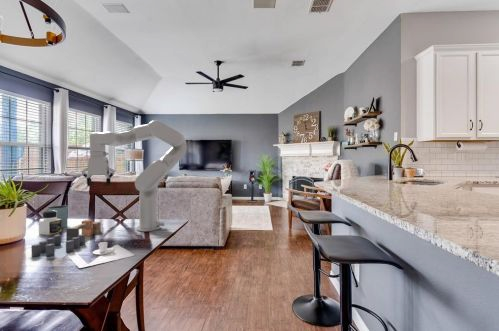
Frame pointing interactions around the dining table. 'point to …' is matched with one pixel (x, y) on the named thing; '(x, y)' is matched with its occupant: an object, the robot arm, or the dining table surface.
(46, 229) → the medicine bottle
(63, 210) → the grey cup
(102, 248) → the teacup and saucer
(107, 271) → the dining table surface
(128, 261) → the dining table surface
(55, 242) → the board
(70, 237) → the wooden toy mallet
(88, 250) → the dining table surface
